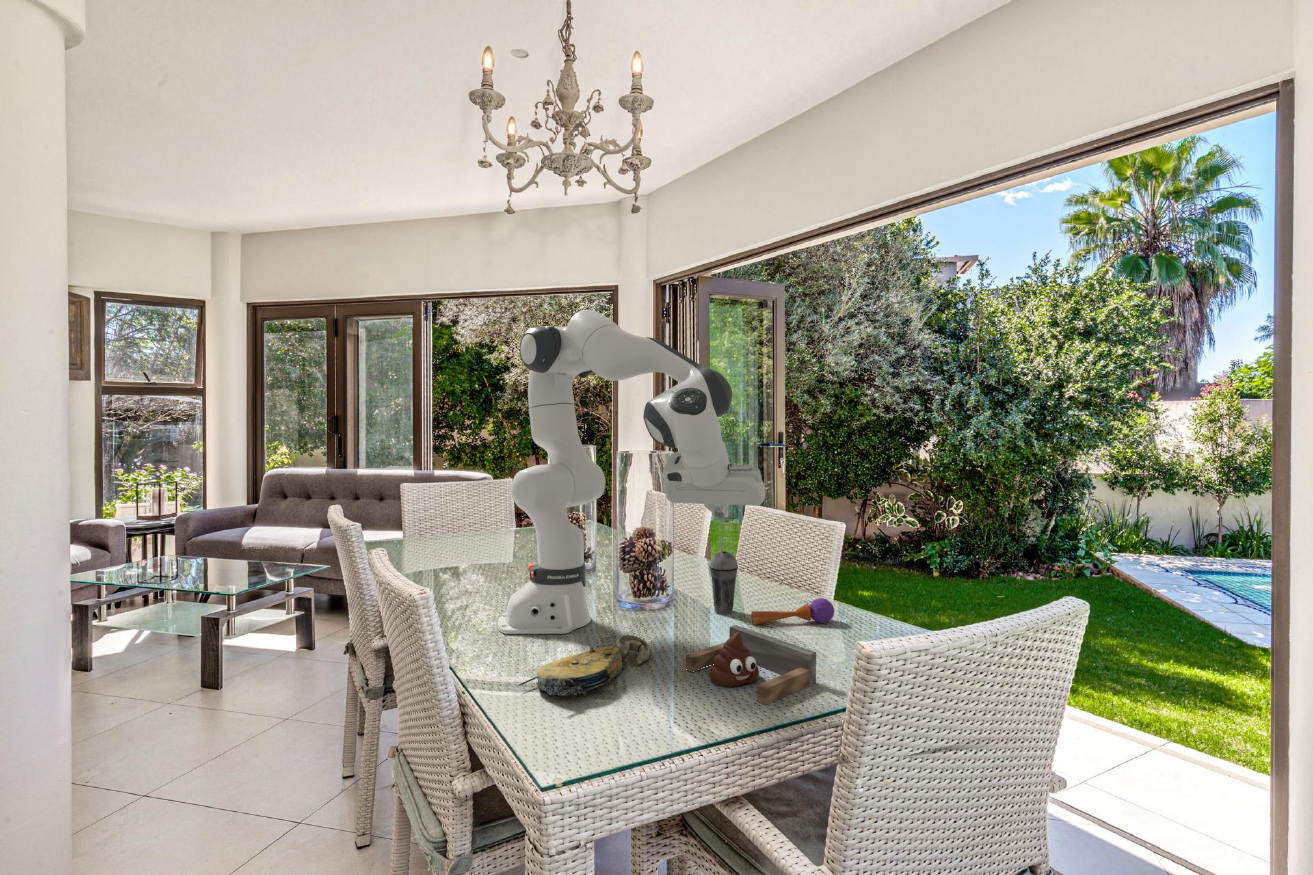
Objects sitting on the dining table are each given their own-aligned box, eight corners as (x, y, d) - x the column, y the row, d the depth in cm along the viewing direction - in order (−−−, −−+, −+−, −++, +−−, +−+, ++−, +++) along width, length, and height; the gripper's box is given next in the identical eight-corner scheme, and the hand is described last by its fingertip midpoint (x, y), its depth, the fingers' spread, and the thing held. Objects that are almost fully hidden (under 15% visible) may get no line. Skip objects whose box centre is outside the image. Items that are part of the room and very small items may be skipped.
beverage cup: (743, 612, 176) (744, 535, 174) (721, 618, 172) (721, 538, 170) (725, 605, 182) (725, 530, 180) (703, 610, 178) (703, 533, 176)
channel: (765, 705, 123) (765, 672, 123) (685, 669, 139) (685, 640, 139) (815, 682, 133) (816, 652, 132) (735, 652, 149) (735, 624, 148)
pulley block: (671, 632, 143) (560, 677, 121) (674, 660, 143) (564, 710, 120) (623, 627, 152) (511, 669, 130) (626, 654, 152) (515, 700, 130)
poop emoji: (745, 667, 141) (745, 622, 140) (768, 683, 133) (768, 635, 132) (701, 676, 136) (701, 629, 136) (723, 692, 129) (723, 643, 128)
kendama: (749, 604, 170) (827, 595, 172) (751, 629, 170) (830, 620, 171) (754, 607, 165) (835, 598, 166) (757, 632, 164) (838, 623, 166)
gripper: (762, 454, 132) (773, 506, 140) (663, 454, 141) (680, 503, 149) (755, 476, 128) (767, 528, 136) (654, 474, 136) (671, 524, 144)
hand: (721, 515), depth 142 cm, fingers closed
